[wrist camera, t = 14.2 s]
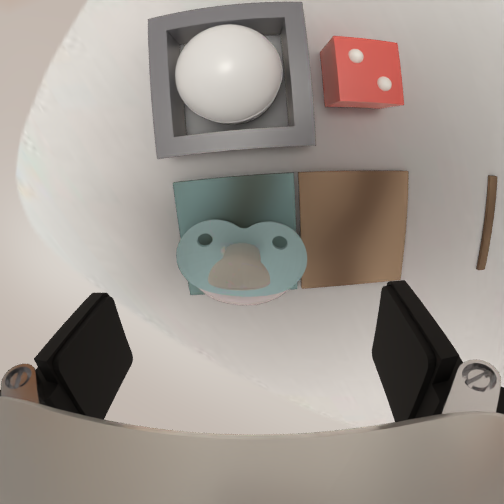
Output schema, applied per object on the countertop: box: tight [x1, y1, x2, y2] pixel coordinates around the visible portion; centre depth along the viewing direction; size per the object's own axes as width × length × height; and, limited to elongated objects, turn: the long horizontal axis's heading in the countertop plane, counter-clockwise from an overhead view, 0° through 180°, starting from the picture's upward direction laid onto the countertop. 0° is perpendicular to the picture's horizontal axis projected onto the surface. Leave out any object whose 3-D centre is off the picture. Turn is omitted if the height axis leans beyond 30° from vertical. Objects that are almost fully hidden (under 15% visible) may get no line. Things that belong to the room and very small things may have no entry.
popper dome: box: [175, 24, 282, 124], centre depth 13 cm, size 5×5×5 cm
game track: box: [173, 171, 497, 295], centre depth 19 cm, size 23×8×1 cm, turn 94°
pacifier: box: [176, 219, 307, 305], centre depth 17 cm, size 7×6×6 cm
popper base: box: [148, 2, 404, 159], centre depth 14 cm, size 13×8×4 cm, turn 94°
